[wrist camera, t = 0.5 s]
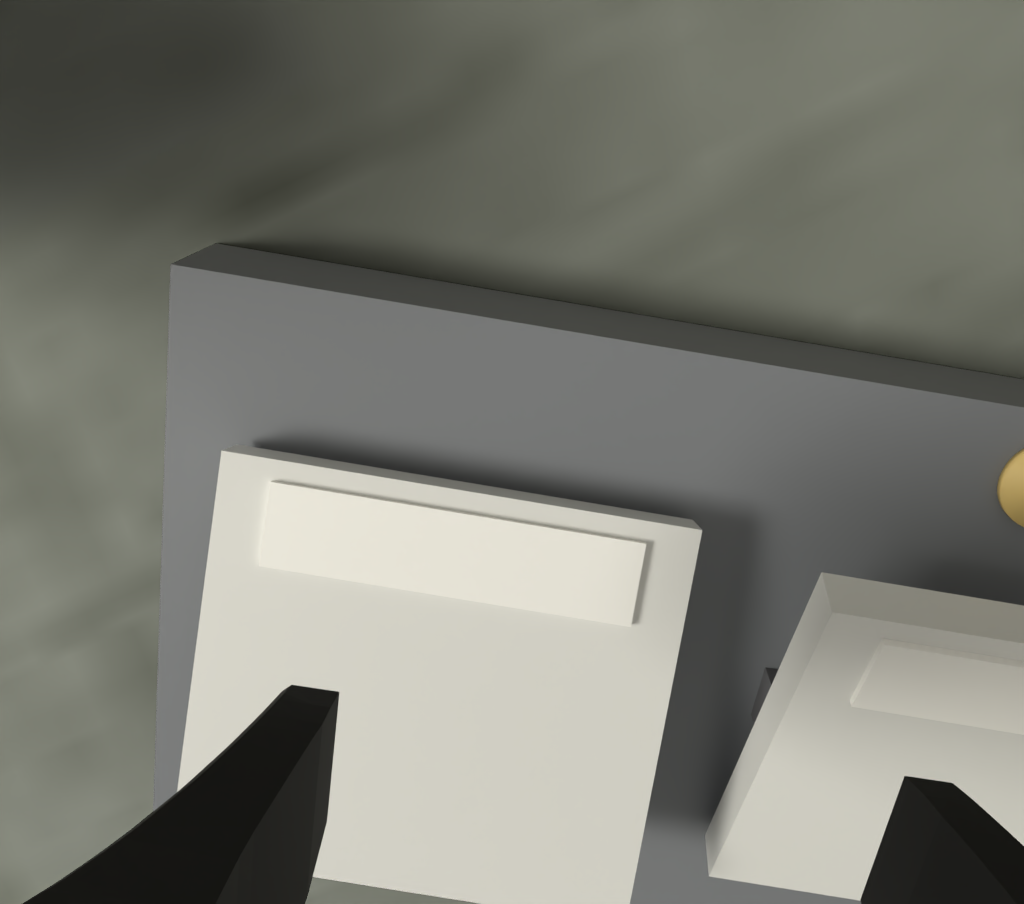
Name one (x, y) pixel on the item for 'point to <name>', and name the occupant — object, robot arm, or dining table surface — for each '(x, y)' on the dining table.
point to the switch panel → (599, 472)
